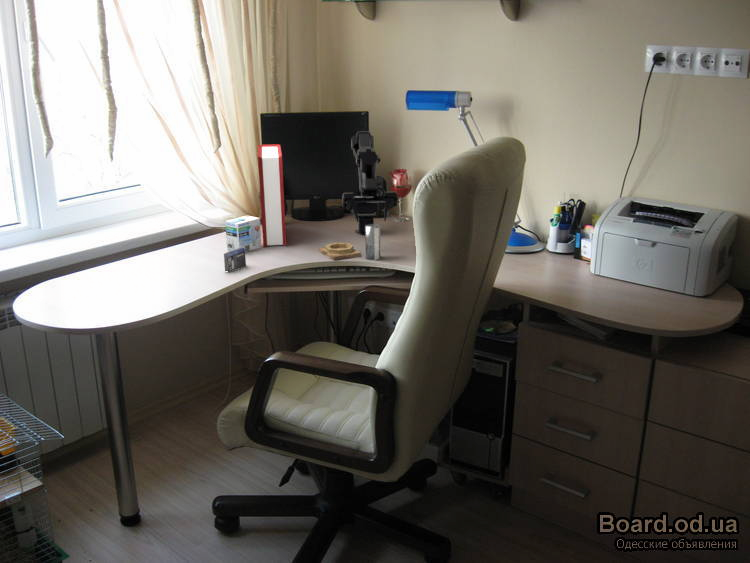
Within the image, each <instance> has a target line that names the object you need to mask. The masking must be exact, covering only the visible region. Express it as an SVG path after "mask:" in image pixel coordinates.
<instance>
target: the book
mask: <svg viewBox="0 0 750 563" xmlns="http://www.w3.org/2000/svg"><path fill="white" fill-rule="evenodd" d="M257 149H258V150H257V162H258V175H259V176H258V179H259V195H260V196H259V197H260V212H261V228H262V232H261V233H262V245H263V246H262V247H263V248H265V247H268V246H285V247H287V233H286V232H287V230H286V214H285V212H286V211H285V195H284V194H285V192H284V191H285V190H284V171H283V155H282V154H283V153H282V148H281V144H277V143H276V144H271V143H270V144H258V146H257Z"/></svg>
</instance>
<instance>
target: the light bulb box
mask: <svg viewBox="0 0 750 563" xmlns="http://www.w3.org/2000/svg"><path fill="white" fill-rule="evenodd" d="M224 223H225V239H226V248H227V250H228V251H227V252H230V251H233V250H236V249H238V248H244V249H245V253H247V252H251V251H255V250H257V249H261V248H262V235H261V234H262V232H261V218H260V217H256V216H253V215H252V216H251V215H243V216H240V217H236V218H232V219H228V220H225V221H224Z"/></svg>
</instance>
